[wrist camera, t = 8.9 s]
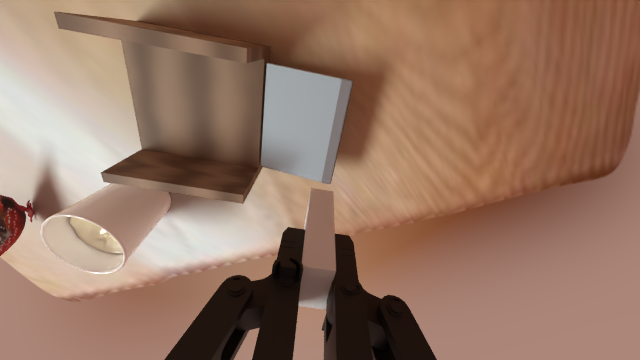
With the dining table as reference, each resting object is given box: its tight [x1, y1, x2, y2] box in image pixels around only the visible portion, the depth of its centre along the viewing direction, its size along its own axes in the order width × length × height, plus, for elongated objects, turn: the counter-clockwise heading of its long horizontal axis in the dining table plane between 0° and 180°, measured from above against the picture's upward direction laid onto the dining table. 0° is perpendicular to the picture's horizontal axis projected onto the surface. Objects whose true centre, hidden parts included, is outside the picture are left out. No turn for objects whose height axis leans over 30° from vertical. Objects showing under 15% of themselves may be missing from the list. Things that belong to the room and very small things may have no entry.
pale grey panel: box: [261, 63, 354, 184], centre depth 31 cm, size 1×13×10 cm
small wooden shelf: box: [54, 12, 271, 204], centre depth 29 cm, size 16×16×10 cm
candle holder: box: [41, 183, 171, 274], centre depth 36 cm, size 10×10×12 cm
